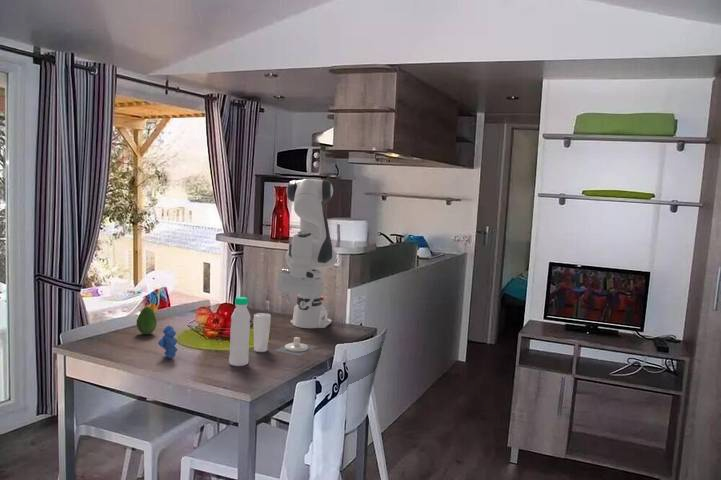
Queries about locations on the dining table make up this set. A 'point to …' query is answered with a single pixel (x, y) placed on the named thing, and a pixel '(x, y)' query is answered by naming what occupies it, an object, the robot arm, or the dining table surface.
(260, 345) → the drinking glass
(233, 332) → the water bottle
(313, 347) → the mat
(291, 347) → the lid
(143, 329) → the avocado
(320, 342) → the dining table surface
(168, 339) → the grapes
